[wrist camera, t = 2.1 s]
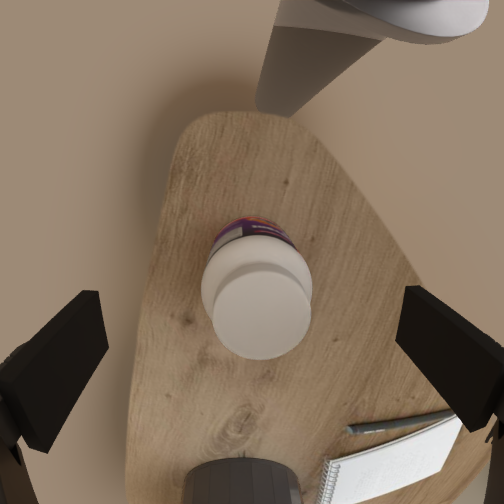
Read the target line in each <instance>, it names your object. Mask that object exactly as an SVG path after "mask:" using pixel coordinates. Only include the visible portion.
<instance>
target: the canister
mask: <svg viewBox="0 0 504 504" xmlns="http://www.w3.org/2000/svg"><path fill="white" fill-rule="evenodd" d="M181 504H304V503H303V498H302V493H301V488H300V484H299V481H298V478H297V476H296V474H295V473H294V472H293V471H292V470H291V469H289V468H288V467H286V466H284V465H282V464H279V463H276V462H273V461H268V460H263V459H255V458H229V459H221V460H215V461H211V462H208V463H205V464H202V465H200V466H198V467H196V468H194V469H193V470H191V471H190V472H189V473H188V474H187V476H186V478H185V480H184V485H183V490H182V498H181Z"/></svg>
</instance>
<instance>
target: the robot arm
mask: <svg viewBox="0 0 504 504" xmlns="http://www.w3.org/2000/svg"><path fill="white" fill-rule="evenodd" d="M395 341H396V342H397V344H398V345H399V346H400V347H401V348H402V349H403V351H404V352H405V353H406V354H407V355H408V356H409V358H410V359H411V360H412V361H413V362H414V364H415V365H416V366H417V367H418V368H419V370H420V371H421V372H422V373H423V374H424V376H425V377H426V378H427V379H428V380H429V382H430V383H431V384H432V385H433V386H434V388H435V389H436V390H437V391H438V393H439V394H440V395H441V396H442V398H443V399H444V400H445V401H446V402H447V404H448V405H449V406H450V407H451V409H452V410H453V411H454V412H455V414H456V415H457V416H458V418H459V419H460V420H461V421H462V423H463V424H464V425H465V426H466V428H467V429H468V430H469V432H470V433H472V432H474V431H476V430H479V429H481V428H483V427H486V425H487V423H488V421H489V419H490V418H491V416H492V414H493V413H494V414H495V415H496V416H497V420H496V422H495V424H494V426H493V427H492V429H491V431H490V433H489V434H488V436H487V438H486V440H485V443H487V442H488V441H489V439H490V438H491V437H492V436H493V440H492V442H491V444H492V453H491V461H490V469H489V476H488V482H487V488H486V494H485V499H484V504H504V347H501V345H500V344H499V343H497V342H495V340H494V339H492V338H491V337H490V336H488V335H487V334H485V333H483V332H482V331H481V330H479V329H478V328H477V327H475V326H474V325H473V324H472V323H470V322H469V321H468V320H466V319H465V318H464V317H462V316H461V315H460V314H458V313H457V312H456V311H454V310H453V309H451V308H450V307H449V306H447V305H446V304H445V303H443V302H442V301H440V300H439V299H438V298H436V297H435V296H434V295H432V294H431V293H429V292H428V291H427V290H425V289H424V288H422V287H421V286H420V285H417V286H406V287H405V293H404V299H403V305H402V310H401V315H400V320H399V325H398V330H397V335H396V339H395ZM108 348H109V346H108V341H107V336H106V331H105V327H104V321H103V316H102V310H101V304H100V299H99V292H98V291H90V290H83V291H81V292H80V293H79V294H78V295H77V296H76V297H75V298H74V299H73V300H72V301H70V302H69V303H68V304H67V305H66V306H65V307H64V308H63V309H62V310H61V311H60V312H59V313H57V314H56V316H54V318H52V319H51V320H50V321H49V322H48V323H47V324H46V325H45V326H44V327H43V328H42V329H41V330H40V331H39V332H38V333H37V334H35V335H34V337H32V338H31V339H30V340H29V341H28V342H26V343H24V344H22V345H20V346H19V347H17V348H16V349H15V350H14V351H13V352H12V353H11V354H10V357H9V356H8V357H7V358H6V359H5V360H4V363H1V364H0V504H39V503H38V501H37V498H36V495H35V492H34V490H33V487H32V484H31V481H30V478H29V475H28V472H27V469H26V465H25V462H24V459H23V455H22V451H21V449H20V447H19V445H18V443H17V441H18V439H19V438H20V436H21V435H22V437H23V439H24V440H25V442H26V444H27V445H28V447H29V448H31V449H34V450H37V451H40V452H44V453H47V454H48V452H49V450H50V448H51V447H52V445H53V443H54V441H55V439H56V437H57V435H58V434H59V432H60V430H61V428H62V426H63V424H64V423H65V421H66V419H67V417H68V415H69V414H70V412H71V410H72V408H73V407H74V405H75V403H76V402H77V400H78V398H79V396H80V395H81V393H82V391H83V390H84V388H85V386H86V384H87V383H88V381H89V379H90V378H91V376H92V374H93V373H94V371H95V370H96V368H97V366H98V365H99V363H100V361H101V359H102V358H103V356H104V355H105V353H106V351H107V350H108Z"/></svg>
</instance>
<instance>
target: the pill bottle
mask: <svg viewBox="0 0 504 504" xmlns="http://www.w3.org/2000/svg"><path fill="white" fill-rule="evenodd" d="M201 297H202V302H203V305H204V308H205V311H206V313H207V315H208V316H209V318H210V319H211V320H212V324H213V328H214V331H215V333H216V335H217V337H218V339H219V340H220V342H221V343H222V344H223V345H224V346H225V347H226V348H227V349H228V350H230V351H231V352H233V353H234V354H236V355H238V356H241V357H244V358H247V359H253V360H267V359H273V358H276V357H279V356H281V355H284V354H286V353H288V352H289V351H291V350H292V349H294V348H295V347H296V346H297V345H298V344H299V343H300V342H301V340H302V339H303V338H304V336H305V335H306V333H307V331H308V328H309V325H310V321H311V306H310V302H311V298H312V279H311V274H310V271H309V268H308V266H307V264H306V262H305V260H304V259H303V257H302V255H301V254H300V253H299V251H298V250H297V249H296V247H295V246H294V245H293V243H292V242H291V240H290V239H289V237H288V236H287V235H286V233H285V232H284V231H283V230H282V229H281V228H280V227H279V226H278V225H276V224H275V223H274V222H272V221H270V220H268V219H266V218H262V217H258V216H246V217H241V218H238V219H235V220H233V221H231V222H230V223H228V224H227V225H226V226H225V227H223V228H222V229H221V231H220V232H219V233H218V235H217V236H216V238H215V240H214V242H213V245H212V248H211V251H210V254H209V257H208V260H207V264H206V267H205V270H204V273H203V277H202V283H201Z"/></svg>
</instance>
